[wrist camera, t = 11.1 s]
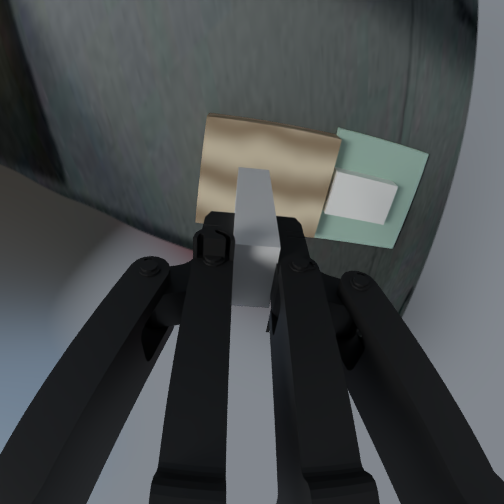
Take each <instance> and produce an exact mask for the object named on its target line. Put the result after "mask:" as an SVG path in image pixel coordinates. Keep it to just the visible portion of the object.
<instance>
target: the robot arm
mask: <svg viewBox="0 0 504 504" xmlns="http://www.w3.org/2000/svg"><path fill="white" fill-rule="evenodd" d="M270 299H271V311H270V316H269V321H268V326H267V330H266V332H269V330H270V344H271V360H272V379H273V398H274V415H275V436H276V457H277V481H278V499H277V503H276V504H380V503H379V496H378V490H377V486H376V482H375V480H374V479H373V477H372V475H371V474H369V473H368V472H366V471H364V469H363V467H362V464H361V460H360V453H359V447H358V442H357V437H356V431H355V425H354V420H353V415H352V409H351V404H350V399H349V394H348V391H349V393H350V395H351V397H352V399H353V401H354V403H355V405H356V407H357V410H358V412H359V414H360V416H361V418H362V420H363V422H364V424H365V426H366V429H367V431H368V433H369V435H370V437H371V439H372V441H373V444H374V445H375V448H376V450H377V452H378V454H379V457H380V458H381V461H382V463H383V465H384V467H385V470H386V472H387V474H388V476H389V478H390V481H391V483H392V485H393V487H394V490H395V491H396V494H397V496H398V498H399V501H400V503H401V504H504V481H503V480H502V479H501V478H500V477H499V476H498V475H497V474H496V473H495V472H494V471H493V469H492V467H491V465H490V463H489V461H488V459H487V457H486V455H485V454H484V452H483V450H482V448H481V446H480V444H479V442H478V440H477V439H476V437H475V435H474V433H473V431H472V429H471V428H470V426H469V424H468V422H467V421H466V419H465V417H464V415H463V414H462V412H461V410H460V408H459V407H458V405H457V403H456V402H455V400H454V399H453V397H452V395H451V393H450V392H449V390H448V389H447V387H446V385H445V383H444V382H443V380H442V379H441V377H440V376H439V374H438V372H437V371H436V369H435V368H434V366H433V364H432V363H431V362H430V360H429V358H428V357H427V355H426V354H425V352H424V351H423V349H422V347H421V346H420V344H419V343H418V342H417V340H416V338H415V337H414V336H413V334H412V333H411V331H410V330H409V328H408V327H407V325H406V324H405V322H404V321H403V319H402V318H401V316H400V315H399V314H398V312H397V311H396V309H395V308H394V307H393V305H392V304H391V302H390V301H389V299H388V298H387V297H386V295H385V294H384V293H383V291H382V290H381V288H380V287H379V286H378V284H377V283H376V282H375V281H374V280H373V279H372V278H371V277H370V276H369V275H367V274H365V273H362V272H359V271H349V272H345V273H344V274H343V275H342V277H341V279H339V278H335V277H332V276H329V275H326V274H324V273H322V272H320V270H319V267H318V265H317V263H316V262H315V261H313V260H312V259H311V258H310V256H309V252H308V248H307V244H306V240H305V236H304V233H303V229H302V225H301V223H300V222H299V221H298V220H297V219H296V218H294V217H284V216H276V212H275V205H274V199H273V192H272V186H271V179H270V173H269V170H264V169H254V168H243V167H239V168H238V179H237V189H236V200H235V211H234V213H230V212H217V211H211V212H210V213H209V214H208V215H206V216H205V219H204V223H203V228H202V229H201V230H199V231H198V232H196V233H195V235H194V237H193V259H192V260H191V261H189V262H187V263H185V264H182V265H177V266H169V264H168V263H167V262H166V261H165V260H164V259H162V258H159V257H154V256H149V257H143V258H140V259H138V260H136V261H135V262H134V263H133V264H131V266H130V267H129V268H128V269H127V271H126V272H125V273H124V274H123V275H122V277H121V278H120V279H119V281H118V282H117V283H116V284H115V286H114V287H113V288H112V289H111V291H110V292H109V293H108V295H107V296H106V297H105V298H104V300H103V301H102V302H101V303H100V305H99V306H98V307H97V309H96V310H95V311H94V313H93V314H92V316H91V317H90V318H89V319H88V321H87V322H86V323H85V325H84V326H83V328H82V329H81V330H80V332H79V333H78V334H77V336H76V337H75V339H74V340H73V341H72V343H71V344H70V345H69V347H68V348H67V350H66V351H65V352H64V354H63V356H62V357H61V359H60V360H59V361H58V363H57V364H56V366H55V367H54V368H53V370H52V372H51V373H50V374H49V376H48V377H47V379H46V380H45V382H44V383H43V385H42V386H41V388H40V389H39V391H38V393H37V394H36V396H35V397H34V399H33V401H32V402H31V403H30V405H29V407H28V408H27V410H26V411H25V413H24V415H23V416H22V418H21V420H20V421H19V423H18V425H17V426H16V428H15V430H14V431H13V433H12V435H11V436H10V438H9V440H8V442H7V443H6V445H5V447H4V449H3V451H2V452H1V454H0V504H86V503H87V501H88V499H89V497H90V494H91V493H92V490H93V488H94V486H95V484H96V482H97V480H98V478H99V475H100V473H101V471H102V469H103V467H104V465H105V463H106V461H107V459H108V457H109V455H110V452H111V450H112V448H113V446H114V444H115V442H116V440H117V438H118V436H119V434H120V432H121V430H122V428H123V426H124V423H125V422H126V420H127V418H128V416H129V414H130V411H131V410H132V408H133V406H134V404H135V402H136V400H137V398H138V396H139V394H140V392H141V390H142V388H143V386H144V384H145V382H146V380H147V378H148V376H149V374H150V373H151V371H152V369H153V367H154V365H155V363H156V361H157V359H158V357H159V355H160V353H161V351H162V350H163V348H164V345H165V344H166V342H167V340H168V338H169V336H170V334H171V332H172V331H173V328H174V325H179V324H180V327H179V332H178V338H177V343H176V349H175V355H174V360H173V366H172V373H171V379H170V385H169V391H168V398H167V404H166V411H165V418H164V425H163V433H162V441H161V448H160V456H159V464H158V468H157V472H156V473H155V475H154V477H153V480H152V483H151V489H150V498H149V504H226V437H227V404H228V375H229V373H228V372H229V349H230V324H231V305H237V306H250V307H265V308H268V307H269V304H270Z"/></svg>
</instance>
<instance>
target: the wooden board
mask: <svg viewBox="0 0 504 504" xmlns="http://www.w3.org/2000/svg"><path fill="white" fill-rule="evenodd" d="M341 141H342V139H341V138H340V137H338V136H337V135H336V134H331V133H327V132H323V131H318V130H313V129H308V128H303V127H298V126H293V125H288V124H282V123H277V122H271V121H265V120H259V119H252V118H245V117H238V116H231V115H223V114H215V113H209V114H208V116H207V120H206V128H205V136H204V144H203V153H202V161H201V171H200V180H199V190H198V200H197V211H196V222H197V223H204V219H205V216H206V215H208V214H209V213H210V212H211V211H217V212H230V213H234V211H235V200H236V189H237V179H238V168H239V167H243V168H254V169H264V170H269V173H270V179H271V186H272V192H273V199H274V205H275V212H276V216H284V217H294V218H296V219H297V220H298V221H299V222H300V223H301V225H302V229H303V233H304V236H305V237H312V238H314V236H315V233H316V229H317V226H318V223H319V219H320V216H321V213H322V209H323V206H324V202H325V199H326V196H327V192H328V189H329V185H330V181H331V178H332V174H333V171H334V167H335V163H336V160H337V156H338V152H339V149H340V145H341Z"/></svg>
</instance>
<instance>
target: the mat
mask: <svg viewBox="0 0 504 504" xmlns="http://www.w3.org/2000/svg"><path fill="white" fill-rule="evenodd" d="M336 135H337V136H338V137H340V138H341V139H342V141H341V145H340V149H339V152H338V156H337V160H336V163H335V167H338V168H342V169H347V170H351V171H355V172H359V173H363V174H367V175H371V176H375V177H379V178H383V179H387V180H391V181H393V182H394V183H395V184H396V185H397V186H398V189H397V191H396V194H395V197H394V199H393V202H392V204H391V207H390V210H389V212H388V215H387V217H386V220H385V222H384V225H381V224H376V223H371V222H366V221H361V220H356V219H350V218H345V217H340V216H334V215H329V214H325V213H324V211H323V209H322V213H321V216H320V219H319V223H318V226H317V229H316V233H315V236H314V237H316V238H323V239H330V240H337V241H344V242H351V243H358V244H365V245H371V246H378V247H385V248H391V249H393V246H394V244H395V242H396V239H397V237H398V235H399V232H400V230H401V228H402V225H403V223H404V220H405V218H406V215H407V213H408V210H409V208H410V205H411V203H412V200H413V197H414V195H415V192H416V189H417V187H418V184H419V181H420V178H421V175H422V173H423V170H424V167H425V164H426V161H427V158H428V155H429V154H427V153H425V152H422V151H419V150H416V149H413V148H410V147H407V146H404V145H401V144H397V143H394V142H391V141H387V140H384V139H380V138H377V137H373V136H370V135H366V134H362V133H359V132H355V131H351V130H347V129H343V128H339V127H338V130H337V134H336Z"/></svg>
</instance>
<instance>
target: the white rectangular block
mask: <svg viewBox="0 0 504 504" xmlns="http://www.w3.org/2000/svg"><path fill="white" fill-rule="evenodd" d="M397 189H398V186H397V185H396V184H395V183H394V182H393V181H391V180H387V179H383V178H379V177H375V176H371V175H367V174H363V173H359V172H355V171H351V170H347V169H342V168H338V167H334V171H333V174H332V178H331V181H330V185H329V189H328V192H327V196H326V199H325V202H324V206H323V211H324V213H325V214H329V215H334V216H340V217H345V218H350V219H356V220H361V221H366V222H371V223H376V224H381V225H384V222H385V220H386V217H387V215H388V212H389V210H390V207H391V204H392V202H393V199H394V197H395V194H396V191H397Z"/></svg>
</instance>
